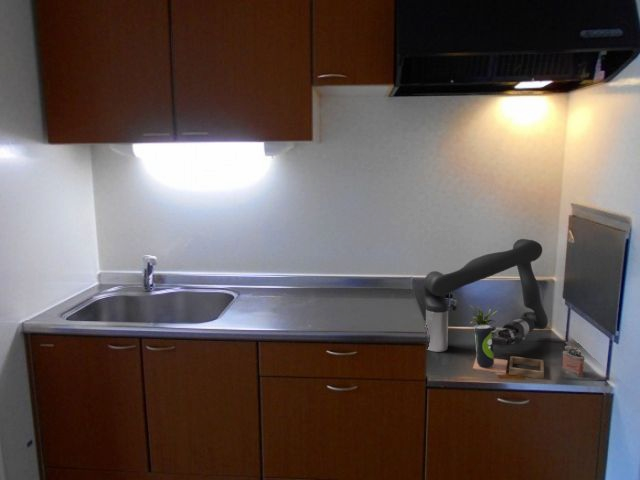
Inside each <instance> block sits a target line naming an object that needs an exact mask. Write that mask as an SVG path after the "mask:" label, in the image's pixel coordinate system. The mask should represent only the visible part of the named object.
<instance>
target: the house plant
mask: <svg viewBox="0 0 640 480" xmlns="http://www.w3.org/2000/svg"><path fill="white" fill-rule="evenodd" d="M470 307H471V308H472V309H473V310H474V311H472V310H471V314H472V315H474V316H472V317H471V318H472V319H473V320H471V319H470V318H468V320H470V323H469V325H470V324H473V323H477V324H476V325H474V326H473V328H474V332H475V326H478V325H489V326H491V324H494V322H495V320H494V319H490V318H491V317H492V316H493V315H494V314H495V313H498V312H499V310H495V311H494V312H493V313H491V314H490V312H491V309H489V310H488V312H487V314H486V315H485V316H484V312H485V311H486V309H483V311H482V309H481V308H480V306H479V305H477V308H478V309H477V310H478V312H477V310H476V309H475V307H474V306H472V305H470Z"/></svg>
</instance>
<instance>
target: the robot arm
mask: <svg viewBox="0 0 640 480" xmlns="http://www.w3.org/2000/svg"><path fill="white" fill-rule="evenodd" d="M542 254H543V247H542V245H541V244H540V243H539V242H538V241H536V240H533V239H526V238H520V239H518V240H516V241H515V242H514V243H513V245H512V248H511V249H509V250H504V251H500V252H492V253H487V254H483V255H480V256H478V257H476V258H473V259H471V260H470V261H468V262H467V263H465V265H464V266H463V267H461V268H460V269H457V270H455V271H451V272H449V273H445V274H444V273H441V272H440V271H436V270H435V271H430V272H428V274H427V275H426V276H425V278H424V282H423V298H424V303H425V326H426V325H427V328H428V331H429V335H430V343H429V347H428V349H427V350H428V351H431V352H436V353H437V352H439V353H441V352H445V351H447V350H448V346H449V343H448V340H449V339H448V338H449V334H448V333H449V332H448V331H449V304H448V301H447V298H446V295H448V294H450V293H453V292H454V291H457V290H459V289H460V288H463V287H465V286H468V285H470V284H473V283H475V282H479V281H481V280H484V279H486V278H490V277H492V276H496V275H497V274H499V273H501V272H504V271H506V270H509V269H512V268H514V267H517V270H518V276H519V279H520V285H521V289H522V290H521V291H522V301H523V305H524V307H525V308H527V309H530V310H532V311H526V312H523V313H522V314H521V316H520V317H519V318H517V319H514V320H512V321H510V322H507V323H506V324H504V325H503V326H502V328H497V327H496V326H492V327H490V328H491V331H492V338H495V339H503V340H504V345H505V346H509V345H511V344H515V343H516V345H520V344H522V343H523V342H525V339H526V335H528V334H530V333H532V332H533V331H534V330H535V329H536V330H544V329H546V328H547V326H548V325H549V321H548V316H547V313H546V311H545V309H544V306H543V304H542V299H541V292H540V291H541V290H540V285H539V283H538V281H537V278H536V276H535V273H534V272H533V271H534V270H533V268H532V262H535V261H536V260H538V259H539V258H541V256H542Z"/></svg>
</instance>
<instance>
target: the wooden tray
mask: <svg viewBox="0 0 640 480" xmlns="http://www.w3.org/2000/svg"><path fill="white" fill-rule="evenodd" d="M508 364H509V365H508V375H510V376H511V375H512V376H520V377H525V378H526V377H527V378H535V379H540V380H541V379H542V380H544V378H545V377H544V376H545V366H544V360H543V359H538V358H537V359H536V358H529V357H522V356H513V355H512V356H511V355H510V357H509V363H508ZM513 364H515V365H524V366H532V367H538V368H539V367H540V369H539V370H535V369H528V368H519V367H513Z"/></svg>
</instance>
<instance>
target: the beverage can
mask: <svg viewBox="0 0 640 480" xmlns="http://www.w3.org/2000/svg"><path fill="white" fill-rule="evenodd" d="M477 325H478V324H477ZM474 326H475V331H474V338H475V351H476V352H475V353H476V356H477V363H478V364H479V365H480V366H484V367H487V366H492V365H493V364H494V359H495V358H494V345H493V337H492V335H493V334H492V331H491V328H492V327H491V325H489V324H488V325H478V326H476V325H474Z"/></svg>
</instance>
